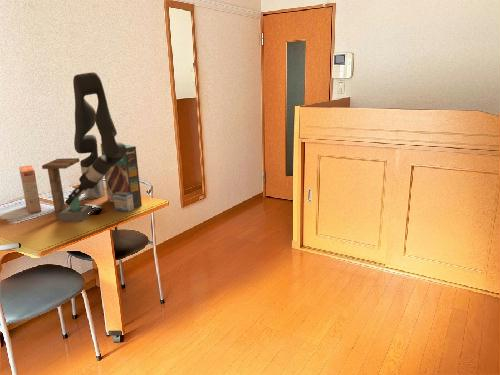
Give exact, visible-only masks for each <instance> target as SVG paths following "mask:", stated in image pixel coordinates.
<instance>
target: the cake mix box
mask: <svg viewBox="0 0 500 375" xmlns="http://www.w3.org/2000/svg"><path fill="white" fill-rule="evenodd" d="M123 144H124V145H125V146H126V154H125V156H124V157H123V158H122V159H121V160H120V161H118V162H117V163H116V164H115V165H113V166H112V167H111V168H110V169H109V170H108V172H107V173H106V174H105V175H104V182H105V188H106V189H105V190H106V197H107V201H109V202H111V203H114V193H116V192H129V193H132V196H133V206H134V209H135V208H137V207H141V206H142V205H143V204H142V196H141V195H142V194H141V193H142V192H141V185H140V176H139V167H138V155H137V149H136V148H137V146H135V145H130V144H126V143H123ZM100 150H101V151H100V152H101V156H102V155H104V154H105V153H104V151H103V148H102V143H100Z"/></svg>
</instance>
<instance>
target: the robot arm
mask: <svg viewBox="0 0 500 375" xmlns="http://www.w3.org/2000/svg"><path fill="white" fill-rule="evenodd" d="M72 83H73V93H74V130H75V131H74V132H75V133H74V140H73V142H74V143H73V144H74V150H75V151H76V153H77V154H90V155H89V156H87V157H85V158H83V159H81V160H79V164H80V170H81V171H80V172H81V175H80V177H79V182H80V184H78V185H77V186H76V187H74V190H72V192H70V194H68V195H69V196H68V195H67V199H66V200H64V202H65V205H67V206H70V204H71V203H72V201H73V200H75V198H76V197H79V198H80V197H81V196H82V195H83V194H84V198H86V199H98V198H102V197H103V196H105V195H106V193H105V186H104V178H105V174H106V173H107V172H108V170H109V169H110V168H111V167H112V166H113V165H115V164H116V163H117V162H118V161H120V160H121V159H122V158H123V157H124V156H125V154H126V146H125V145H126V144H125V143H122V142H118V141H116V138H115V137H116V136H117V135H118V134H117V129H116V126H115V124H114V121H113V119H112V115H111V113H110V109H109V106H108V101H107V97H106V96H107V95H106V93H105V90H104V89H105V88H104V86H103V82H102V80H101V77H100V75H99V74H98V73H97V72H94V71H93V72H86V73H85V72H84V73H78V74H75V75H74V76H73V82H72ZM90 95H96V97H97V109H96V110H95V108H94V107H93V106H92V105H91V104H90V103H89V102H88V101H87V100H86V99H85V96H90ZM95 125H96V127H97V130H98V132H99V135H100V139H101V140H100V141H101V144H102V148H103V151H104V153H105V154H104V155H102V154H101V155H100V156H99V152H98V151H99V150H98V140H97V137H96V135H95V134H88V133H89V132H90V131H91V130H92V129H93V128H94V127H95ZM124 144H125V145H124ZM72 195H74V197H73V196H72Z"/></svg>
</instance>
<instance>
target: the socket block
mask: <svg viewBox="0 0 500 375" xmlns="http://www.w3.org/2000/svg"><path fill="white" fill-rule="evenodd" d="M65 208H66V209H65V210H63V211H62V212H60V213H59V214H60V220H59V221H60V223H61V222H62V223H63V222H64V223H65V222H67V223H68V222H84V221H85V220H86V219H87V218H88V217H89V216H91V215H92V213H93V212H92V206H91V205H80V209H81V210H80V211H71V209H70V205H68V207H65ZM90 211H91V212H90ZM89 212H90V213H89ZM88 213H89V214H88Z"/></svg>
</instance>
